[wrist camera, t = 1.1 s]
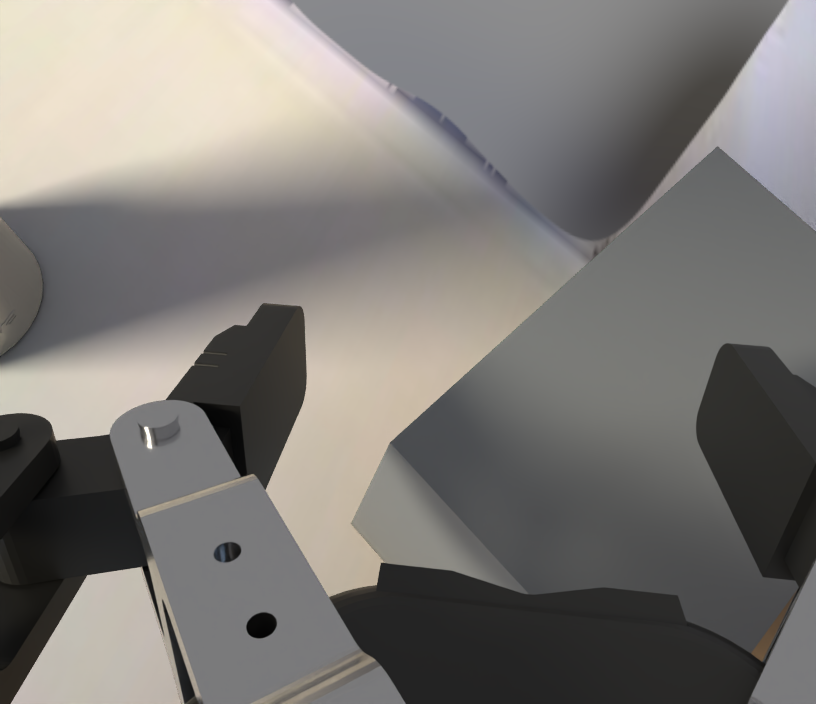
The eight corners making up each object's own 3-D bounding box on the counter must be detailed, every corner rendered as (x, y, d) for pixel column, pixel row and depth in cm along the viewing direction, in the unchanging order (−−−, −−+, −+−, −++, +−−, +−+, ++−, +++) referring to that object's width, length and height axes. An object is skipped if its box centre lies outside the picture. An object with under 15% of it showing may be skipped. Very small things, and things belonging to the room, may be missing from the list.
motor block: (351, 523, 34) (390, 442, 13) (503, 381, 38) (717, 145, 17) (454, 641, 33) (676, 755, 12) (601, 482, 36) (963, 360, 16)
